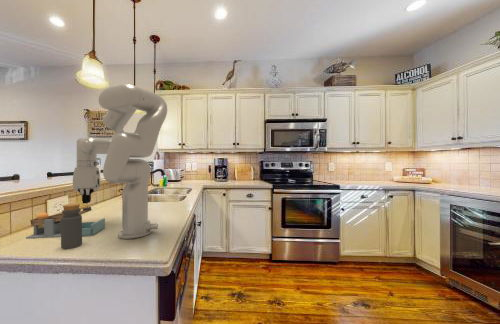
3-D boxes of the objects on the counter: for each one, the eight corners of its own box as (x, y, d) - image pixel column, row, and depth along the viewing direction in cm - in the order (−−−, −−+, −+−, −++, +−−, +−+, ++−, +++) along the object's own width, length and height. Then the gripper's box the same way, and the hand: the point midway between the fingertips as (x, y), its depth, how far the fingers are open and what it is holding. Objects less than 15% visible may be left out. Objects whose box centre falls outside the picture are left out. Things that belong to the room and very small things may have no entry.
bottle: (69, 249, 73) (69, 206, 73) (56, 248, 74) (56, 205, 74) (86, 243, 79) (86, 203, 79) (73, 242, 80) (73, 202, 80)
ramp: (93, 212, 103) (92, 204, 103) (71, 222, 87) (69, 212, 87) (60, 219, 101) (58, 210, 100) (31, 229, 85) (29, 220, 85)
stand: (81, 229, 95) (81, 213, 95) (67, 236, 86) (66, 219, 86) (44, 231, 92) (44, 215, 92) (26, 238, 84) (26, 220, 84)
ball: (51, 218, 90) (49, 210, 90) (44, 220, 87) (42, 212, 87) (42, 220, 90) (40, 212, 90) (35, 223, 86) (33, 214, 86)
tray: (104, 228, 97) (104, 218, 97) (92, 235, 87) (92, 224, 87) (82, 229, 95) (82, 219, 95) (67, 237, 85) (66, 225, 85)
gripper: (107, 164, 106) (107, 201, 106) (74, 164, 103) (74, 201, 104) (99, 164, 98) (99, 204, 98) (63, 164, 96) (63, 204, 96)
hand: (86, 202), depth 101 cm, fingers closed
